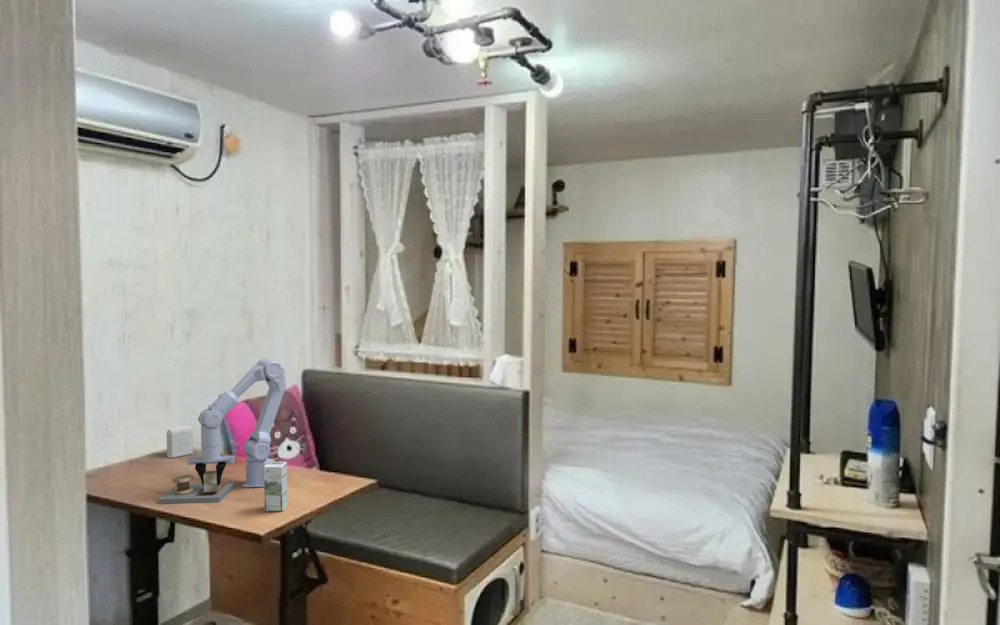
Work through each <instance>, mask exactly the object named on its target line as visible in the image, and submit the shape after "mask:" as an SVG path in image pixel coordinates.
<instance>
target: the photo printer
mask: <svg viewBox="0 0 1000 625" xmlns="http://www.w3.org/2000/svg"><path fill="white" fill-rule="evenodd" d="M192 454H194V429H193V426H192V425H187V424H185V425H184V424H182V425H177V426H173V427H172V428H169V429H168V430H167V431H166V455H167V458H168V459H173V458H177V457H183V456H187V455H192Z"/></svg>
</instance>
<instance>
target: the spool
mask: <svg viewBox="0 0 1000 625" xmlns="http://www.w3.org/2000/svg"><path fill="white" fill-rule="evenodd" d="M193 480H194V475H191V474H183V475H176V476H174V477H172V479H171V482H172V483H173V484H176V485H177V488H175V489H173V490H172V494H174V495H184V494H188V493H191V492H193V491H194V488H193V487H191V486H189V483H190V482H192V481H193Z"/></svg>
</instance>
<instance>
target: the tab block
mask: <svg viewBox="0 0 1000 625" xmlns="http://www.w3.org/2000/svg"><path fill="white" fill-rule="evenodd" d="M203 476H204V492H203V493H214V492H217V491H219V489H220V485H217V472H216V470H206V472H205V473H204V474H203Z"/></svg>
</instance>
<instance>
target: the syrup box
mask: <svg viewBox="0 0 1000 625" xmlns="http://www.w3.org/2000/svg"><path fill="white" fill-rule="evenodd" d="M263 489H264V491H263V495H264V496H263V497H264V499H263V500H264V501H263V502H264V512H267V513H268V512H271V513H272V512H283V511H284V510H285V509H286V508H287V506H288V505H289V503H288V462H287V461H275V462H268V463H267V464H266V465H265V466H264V487H263Z"/></svg>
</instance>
